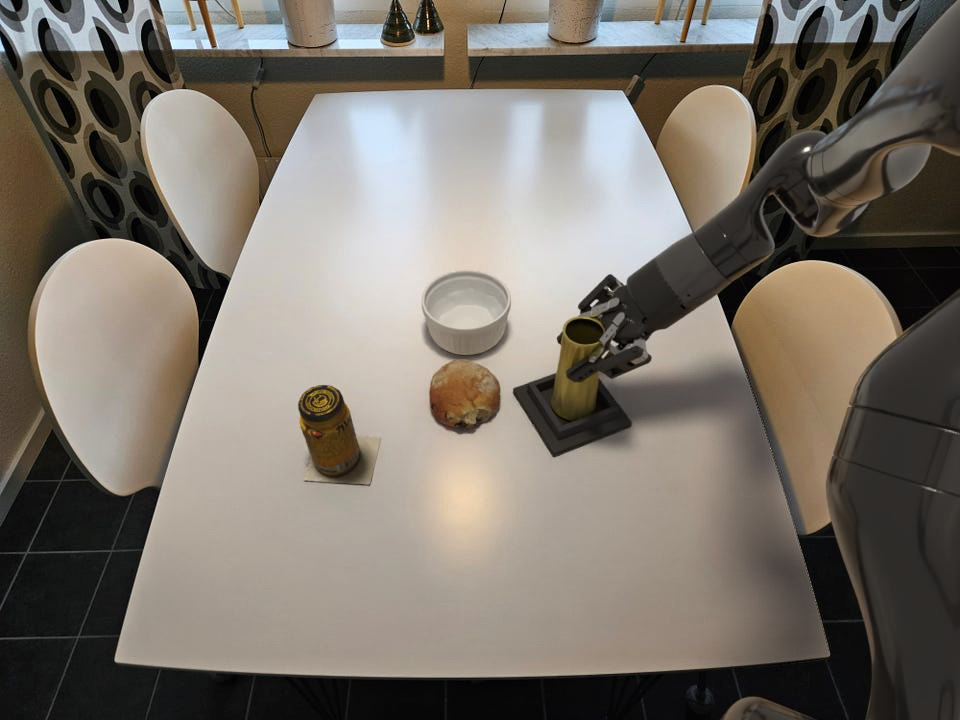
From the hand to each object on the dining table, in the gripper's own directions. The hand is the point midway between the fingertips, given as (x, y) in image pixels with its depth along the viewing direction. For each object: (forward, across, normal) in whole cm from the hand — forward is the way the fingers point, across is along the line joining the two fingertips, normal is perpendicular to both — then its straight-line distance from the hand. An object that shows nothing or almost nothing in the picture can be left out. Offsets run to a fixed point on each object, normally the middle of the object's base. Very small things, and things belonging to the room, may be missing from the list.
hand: (565, 360), depth 82 cm
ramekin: (+15, -17, 0) cm, 23 cm away
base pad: (+6, 0, +8) cm, 11 cm away
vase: (+5, 0, +8) cm, 10 cm away
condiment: (+28, +5, -13) cm, 32 cm away
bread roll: (+17, -3, -2) cm, 17 cm away
